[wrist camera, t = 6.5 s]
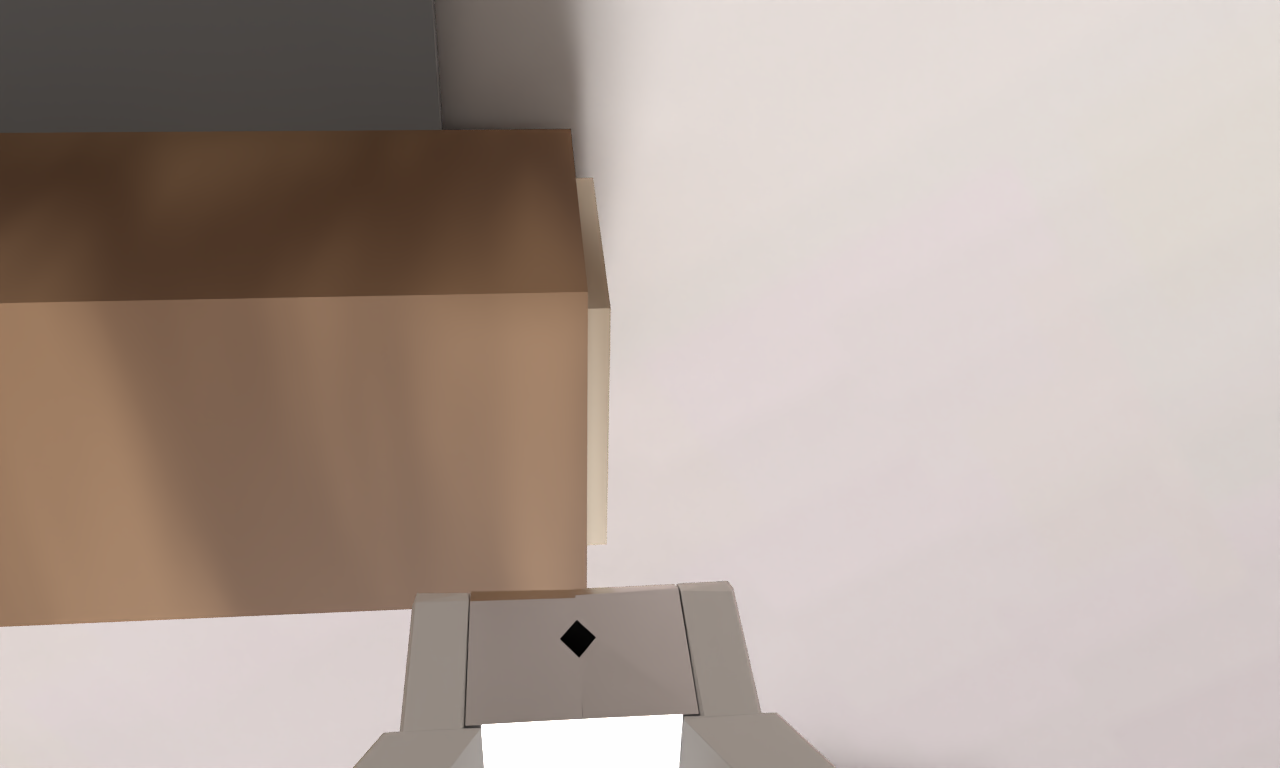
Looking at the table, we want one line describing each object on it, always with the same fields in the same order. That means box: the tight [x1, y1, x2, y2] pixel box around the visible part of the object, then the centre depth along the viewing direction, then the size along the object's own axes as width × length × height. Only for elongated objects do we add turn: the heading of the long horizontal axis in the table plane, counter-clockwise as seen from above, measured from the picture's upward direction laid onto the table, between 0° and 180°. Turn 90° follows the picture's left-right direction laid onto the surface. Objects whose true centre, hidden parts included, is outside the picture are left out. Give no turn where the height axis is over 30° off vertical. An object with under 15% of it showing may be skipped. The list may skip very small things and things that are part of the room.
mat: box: [0, 0, 443, 133], centre depth 17 cm, size 10×12×1 cm
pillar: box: [0, 129, 611, 627], centre depth 15 cm, size 4×4×10 cm
